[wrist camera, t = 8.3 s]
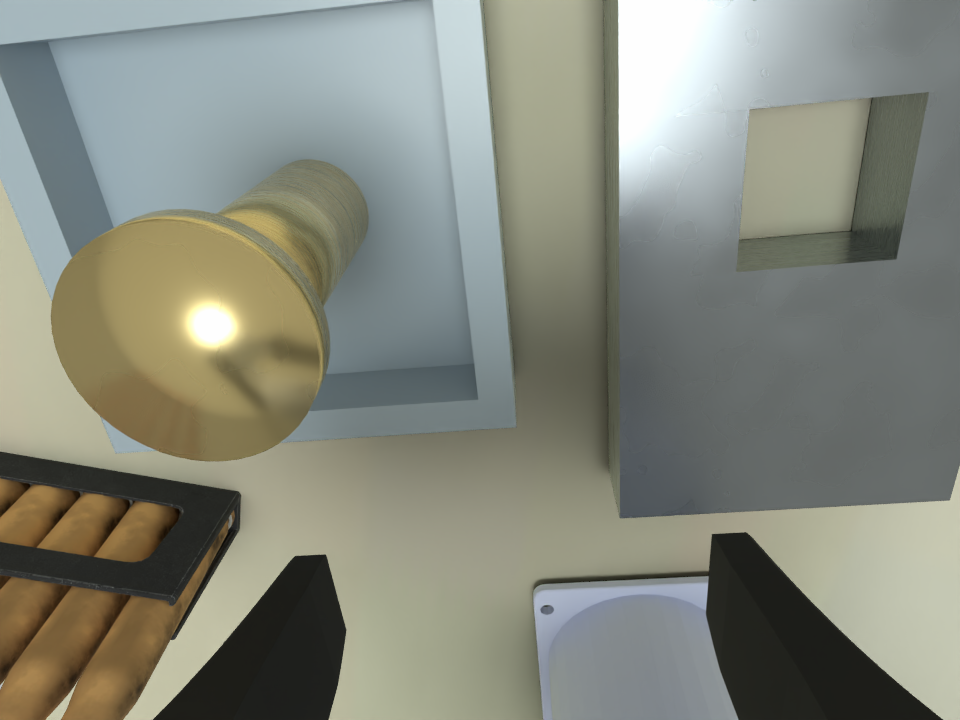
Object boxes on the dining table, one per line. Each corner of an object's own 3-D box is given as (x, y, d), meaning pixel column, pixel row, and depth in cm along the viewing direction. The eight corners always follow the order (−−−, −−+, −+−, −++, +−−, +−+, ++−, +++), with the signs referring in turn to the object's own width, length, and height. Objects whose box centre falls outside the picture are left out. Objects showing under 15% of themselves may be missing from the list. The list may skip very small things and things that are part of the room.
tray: (514, 376, 22) (516, 427, 19) (161, 401, 23) (115, 453, 20) (478, -53, 16) (474, -65, 14) (14, 2, 17) (-75, 0, 15)
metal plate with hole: (906, 452, 23) (949, 500, 21) (608, 470, 23) (619, 518, 21) (1095, -356, 14) (1210, -428, 11) (599, -287, 14) (617, -341, 12)
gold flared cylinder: (405, 281, 20) (342, 453, 12) (258, 293, 20) (107, 468, 12) (379, 124, 18) (285, 210, 10) (217, 140, 18) (6, 236, 10)
